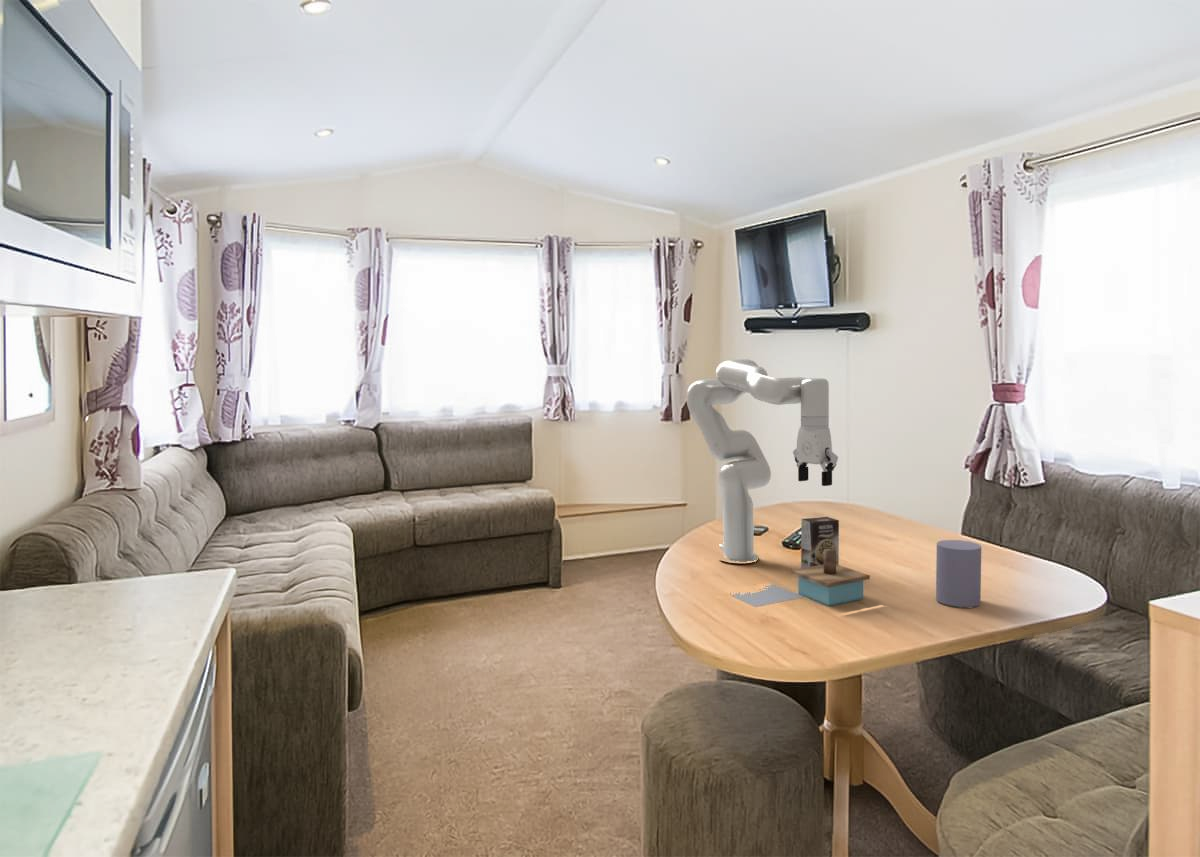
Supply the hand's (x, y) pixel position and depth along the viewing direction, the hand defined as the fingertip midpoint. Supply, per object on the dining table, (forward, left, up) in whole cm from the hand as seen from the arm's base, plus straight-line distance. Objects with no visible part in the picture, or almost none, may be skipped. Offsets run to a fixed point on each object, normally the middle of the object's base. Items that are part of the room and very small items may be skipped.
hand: (814, 483), depth 212 cm
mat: (+3, -21, -28) cm, 35 cm away
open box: (+14, -7, -28) cm, 32 cm away
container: (+32, +19, -29) cm, 47 cm away
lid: (+14, -7, -22) cm, 27 cm away
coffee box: (-6, +7, -28) cm, 30 cm away
